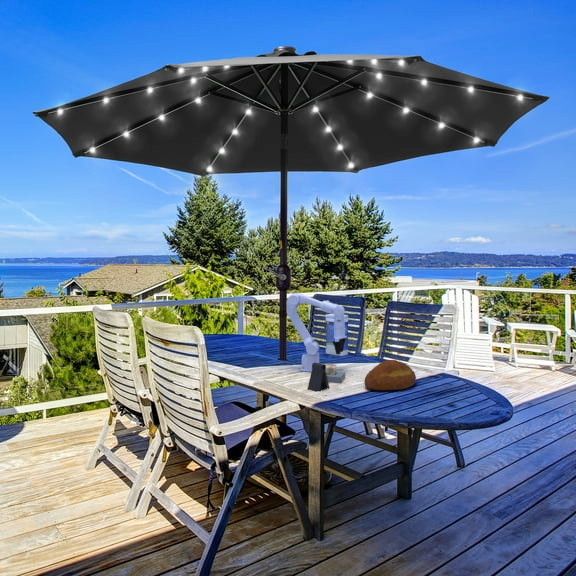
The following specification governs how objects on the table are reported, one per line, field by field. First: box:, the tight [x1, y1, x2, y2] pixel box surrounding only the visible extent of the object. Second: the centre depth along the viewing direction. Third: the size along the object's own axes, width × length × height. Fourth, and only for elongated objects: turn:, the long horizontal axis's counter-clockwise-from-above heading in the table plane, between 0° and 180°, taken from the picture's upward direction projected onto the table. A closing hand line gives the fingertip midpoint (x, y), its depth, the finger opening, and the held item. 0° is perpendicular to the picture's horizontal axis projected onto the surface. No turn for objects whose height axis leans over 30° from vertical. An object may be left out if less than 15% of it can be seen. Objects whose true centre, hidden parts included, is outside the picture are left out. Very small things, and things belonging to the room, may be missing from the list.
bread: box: [364, 359, 417, 392], centre depth 226 cm, size 21×33×12 cm, turn 126°
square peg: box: [326, 365, 337, 375], centre depth 237 cm, size 4×4×6 cm
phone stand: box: [307, 362, 330, 392], centre depth 219 cm, size 9×6×12 cm, turn 137°
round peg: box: [324, 363, 337, 367], centre depth 248 cm, size 6×6×5 cm
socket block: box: [327, 370, 346, 384], centre depth 237 cm, size 13×12×3 cm
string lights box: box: [325, 313, 349, 357], centre depth 303 cm, size 13×8×26 cm, turn 49°
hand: (339, 352), depth 253 cm, fingers open, 7 cm apart
